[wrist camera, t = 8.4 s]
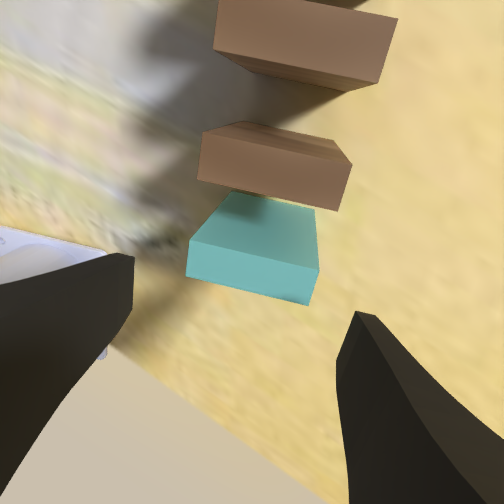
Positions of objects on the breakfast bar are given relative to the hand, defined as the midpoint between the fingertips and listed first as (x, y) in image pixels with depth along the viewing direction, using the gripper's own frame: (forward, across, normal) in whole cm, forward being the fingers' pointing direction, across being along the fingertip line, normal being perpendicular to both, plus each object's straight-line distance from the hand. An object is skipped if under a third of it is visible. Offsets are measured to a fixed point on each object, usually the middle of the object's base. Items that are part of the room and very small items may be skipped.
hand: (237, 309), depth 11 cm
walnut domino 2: (+10, 0, -4) cm, 11 cm away
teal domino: (+10, 0, 0) cm, 10 cm away
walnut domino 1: (+10, 0, -8) cm, 13 cm away
